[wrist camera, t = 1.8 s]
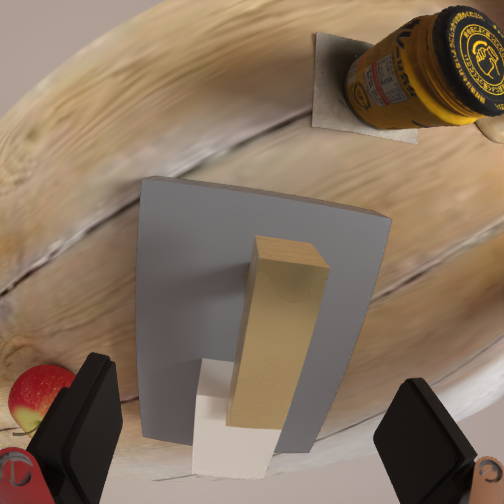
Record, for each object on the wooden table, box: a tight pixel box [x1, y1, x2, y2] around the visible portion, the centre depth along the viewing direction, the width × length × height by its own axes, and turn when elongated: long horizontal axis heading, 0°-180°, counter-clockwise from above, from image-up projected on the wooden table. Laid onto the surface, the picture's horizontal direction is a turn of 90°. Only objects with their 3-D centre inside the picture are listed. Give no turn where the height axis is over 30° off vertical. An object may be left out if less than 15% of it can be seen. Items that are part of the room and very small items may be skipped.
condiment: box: [312, 5, 504, 145], centre depth 14 cm, size 7×8×12 cm
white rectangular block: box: [191, 358, 291, 480], centre depth 22 cm, size 6×10×4 cm, turn 171°
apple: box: [8, 365, 76, 438], centre depth 21 cm, size 8×8×10 cm
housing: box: [135, 176, 392, 453], centre depth 23 cm, size 16×23×3 cm
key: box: [225, 235, 330, 430], centre depth 16 cm, size 2×12×9 cm, turn 171°
